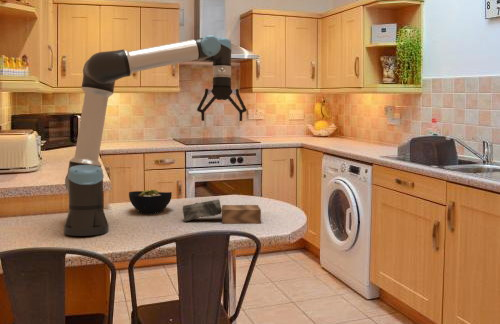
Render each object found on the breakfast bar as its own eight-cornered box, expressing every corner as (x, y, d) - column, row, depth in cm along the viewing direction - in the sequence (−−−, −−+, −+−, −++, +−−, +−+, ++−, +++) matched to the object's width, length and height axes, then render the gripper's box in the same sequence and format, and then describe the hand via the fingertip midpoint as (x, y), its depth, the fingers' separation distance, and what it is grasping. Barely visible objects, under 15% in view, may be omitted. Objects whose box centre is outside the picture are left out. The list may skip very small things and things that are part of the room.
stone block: (222, 214, 201) (219, 201, 201) (184, 223, 200) (181, 209, 200) (222, 211, 210) (219, 197, 210) (185, 219, 209) (182, 205, 209)
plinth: (222, 223, 199) (222, 210, 198) (222, 217, 213) (222, 205, 212) (260, 223, 200) (260, 209, 199) (257, 217, 213) (257, 204, 213)
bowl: (164, 217, 212) (164, 192, 211) (122, 216, 215) (122, 191, 214) (176, 211, 229) (176, 188, 228) (137, 210, 231) (137, 187, 231)
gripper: (190, 75, 217) (190, 128, 218) (253, 76, 219) (252, 129, 220) (191, 77, 225) (191, 129, 226) (251, 78, 226) (251, 129, 227)
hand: (221, 129), depth 223 cm, fingers open, 13 cm apart
